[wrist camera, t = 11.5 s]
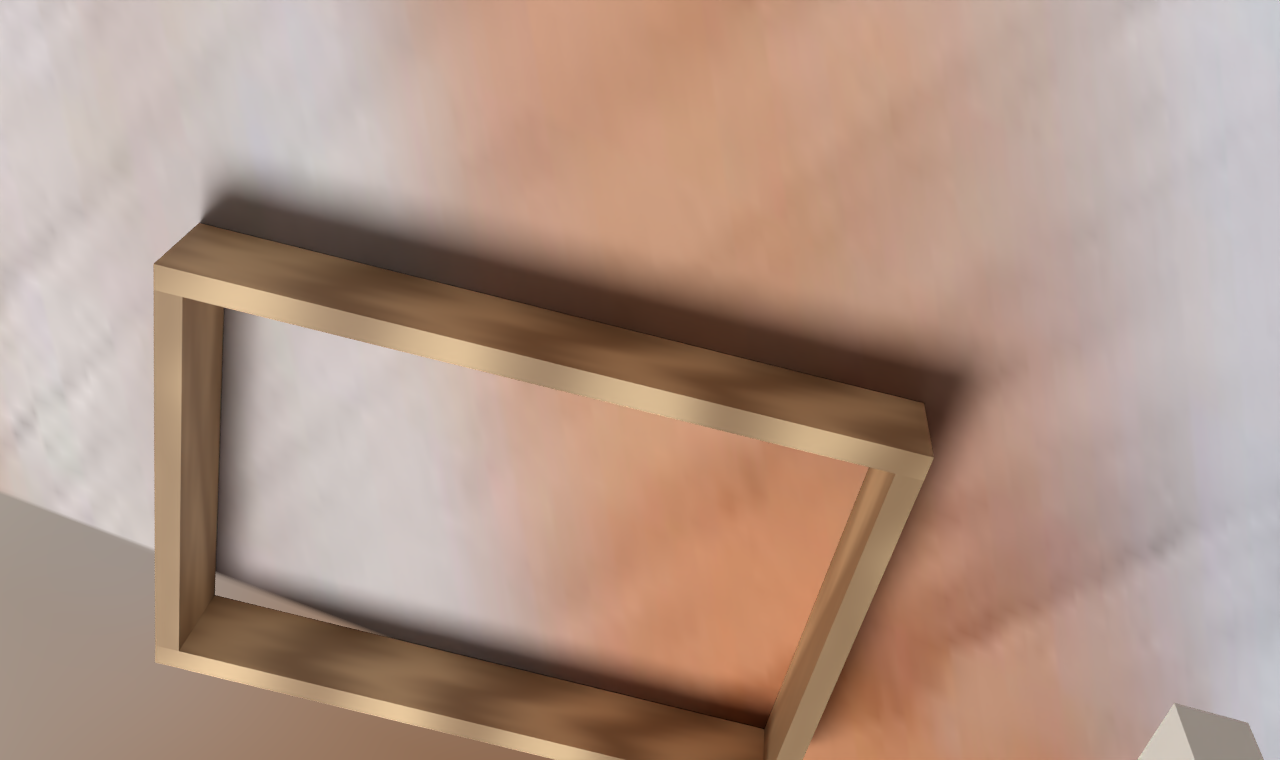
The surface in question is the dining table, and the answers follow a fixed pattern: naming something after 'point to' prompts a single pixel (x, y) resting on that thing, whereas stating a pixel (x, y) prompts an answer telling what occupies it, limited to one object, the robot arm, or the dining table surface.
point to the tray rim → (530, 352)
